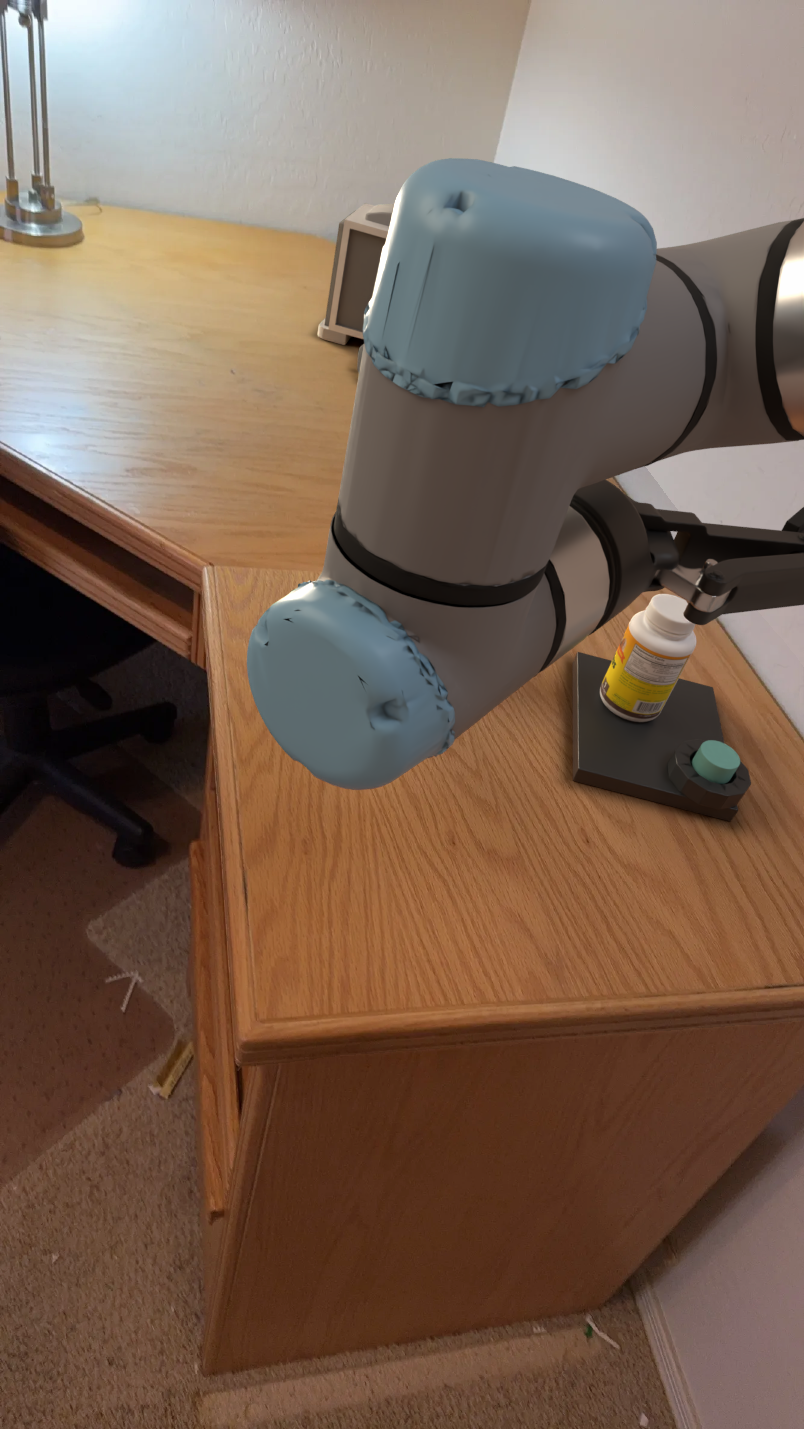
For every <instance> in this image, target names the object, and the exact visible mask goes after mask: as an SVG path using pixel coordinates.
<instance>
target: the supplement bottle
mask: <svg viewBox="0 0 804 1429" xmlns="http://www.w3.org/2000/svg"><path fill="white" fill-rule="evenodd" d="M687 605H688V603H687V602H686V600H684V599H683V598H681V597H680V596H678V595H673V594H669V593H659V594H655V595H654V596H652V598H651V599H650V600H649V603H648V605H647V606H646V607H645V609H644V610H640V611H638V612H637V613H635V614H634V615H633V616H632V618H631V619H630V620H629V622H628V624H627V627H626V629H625V632H624V633H623V636H622V638H621V640H620V642H619V644H618V646H617V649H616V650H615V653H614V655H613V658H612V660H611V661H612V662H611V664H610V666H609V669H608V671H607V673H606V675H605V677H604V680H603V682H602V684H601V687H600V696H601V699H602V701H603V703H604V704H605V706H606V707H607V708H608V709H609V710H610V711H612V712H613V713H614V714H616V715H617V716H619V717H621V718H624V719H626V720H630V721H634V722H647V721H651V720H653V719H655V718H656V717H657V716H658V715H659V714H660V713H661V711H662V709H663V707H664V705H665V703H666V701H667V700H668V698H669V696H670V694H671V692H672V690H673V688H674V686H675V685H676V683H677V681H678V679H679V678H680V677H681V675H682V674H683V672H684V669H685V667H686V666H687V664H688V662H689V660H690V658H691V657H692V655H693V653H694V650H695V649H696V646H697V636H696V634H695V632H694V630H695V627H696V625H697V624H694V623H692V622H690V621H688V620H687V619H686V618H685V617H684V614H683V613H684V611H685V609H686V607H687Z"/></svg>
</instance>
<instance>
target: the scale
mask: <svg viewBox="0 0 804 1429" xmlns="http://www.w3.org/2000/svg"><path fill="white" fill-rule="evenodd" d="M611 662H612V660H611V659H607V658H603V657H599V656H595V655H592V654H588V653H585V652H581V651H577V652H576V654H575V656H574V658H573V660H572V781H573V782H575V783H576V782H577V783H580V784H584V785H588V786H592V787H596V788H599V789H603V790H607V791H611V792H614V793H619V794H622V795H627V796H630V797H635V798H638V799H642V800H646V801H648V802H649V801H650V802H654V803H656V804H657V803H658V804H661V805H666V806H669V807H673V808H676V809H681V810H684V811H688V812H691V813H695V814H700V815H703V816H706V817H707V816H708V817H712V818H715V819H719V820H722V821H726V822H732V821H733V819H734V818H735V816H736V814H737V813H738V812H739V807H738V806H739V805H738V804H739V803H740V801H741V800H742V799H743V797H744V796H745V794H746V792H748V789H749V788H750V786H751V785H752V780H751V777H750V772H749V768H748V767H747V766H746V765H745V764H744V763H743V762H742V761H741V760H740V765H739V767H738V768H737V770H736V771H735V773H734V774H733V776H732V778H731V779H730V781H729V782H727V783H725V784H718V783H714V782H710V781H709V780H707V779H705V778H704V777H702V776H701V775H699V774H698V773H697V772H696V771H695V769H694V768H693V767H692V760H693V758H694V756H695V755H696V753H697V751H698V750H699V748H700V746H701V745H702V743H703V742H705V741H708V740H714V741H719V742H722V743H724V744H726V743H725V739H724V734H723V733H724V732H723V729H722V723H721V719H720V715H719V709H718V704H717V699H716V696H715V694H716V693H715V690H714V687H713V686H711V685H707V684H703V683H698V682H695V681H691V680H687V679H684V678H680V677H679V679H678V681H677V683H676V685H675V686H674V688H673V690H672V692H671V694H670V696H669V698H668V700H667V701H666V703H665V705H664V707H663V709H662V711H661V713H660V714H659V715H658V716H657V717H656V718H655V719H653V720H651V721H647V722H634V721H630V720H626V719H624V718H621V717H619V716H617V715H616V714H614V713H613V712H612V711H610V710H609V709H608V708H607V707H606V706H605V704H604V703H603V701H602V699H601V696H600V687H601V684H602V682H603V680H604V677H605V675H606V673H607V671H608V669H609V666H610V664H611Z"/></svg>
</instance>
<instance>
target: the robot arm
mask: <svg viewBox="0 0 804 1429" xmlns="http://www.w3.org/2000/svg"><path fill="white" fill-rule="evenodd" d="M394 204H395V205H394V210H393V214H392V219H391V223H390V228H389V232H388V236H387V240H386V244H385V245H384V247H383V250H382V254H381V259H380V263H379V268H378V273H377V277H376V282H375V286H374V291H373V295H372V298H371V300H370V302H369V303H368V305H367V306H366V308H365V311H364V324H363V329H362V330H363V339H362V340H363V344H364V347H363V353H362V359H361V365H360V371H359V373H358V378H357V384H356V390H355V395H354V401H353V409H352V413H351V419H350V425H349V431H348V437H347V444H346V448H345V449H346V450H345V456H344V460H343V468H342V473H341V478H340V480H341V481H340V486H339V493H338V497H337V504H336V509H335V512H334V514H333V515H332V517H331V521H330V525H329V531H328V536H327V543H326V549H325V556H324V560H323V561H324V563H323V567H322V571H321V573H320V574H319V576H318V577H317V579H316V580H312V581H311V579H309V580H308V581H302V582H300V583H298V584H297V587H296V588H293V589H291V591H290V592H289V593H288V594H287V595H286V594H285V596H283V597H282V598H280V599H278V600H277V601H275V602H274V603H272V604H271V605H270V606H269V608H267V609H266V610H265V611H264V613H262V615H261V616H260V618H259V619H258V621H257V623H256V625H255V626H254V627H253V628H252V630H251V634H250V637H249V638H248V645H247V651H246V671H247V672H246V673H247V679H248V684H249V688H250V692H251V695H252V699H253V701H254V704H255V707H256V709H257V711H258V713H259V715H260V717H261V720H262V721H263V724H264V726H266V728H267V730H268V732H269V734H270V735H271V736H272V737H273V739H274V740H275V742H276V743H277V745H279V748H281V749H282V750H283V752H284V753H285V754H286V755H287V756H288V757H290V759H291V760H292V761H295V762H298V763H300V764H301V765H302V766H304V767H305V768H306V769H307V770H308V771H309V772H310V773H311V775H313V777H315V778H316V779H318V780H320V781H322V782H323V783H324V782H325V783H327V784H329V785H331V786H334V787H338V788H341V789H343V790H344V789H345V790H351V791H366V790H373V789H378V788H381V787H384V786H386V785H388V784H391V783H392V782H394V781H395V780H397V779H398V778H400V777H401V776H403V775H405V774H406V773H408V772H409V771H411V770H412V769H413V768H415V767H416V766H418V765H419V764H421V763H422V762H424V761H425V760H427V759H430V758H433V757H435V758H436V757H438V756H439V755H442V754H444V753H445V752H447V750H448V749H450V748H451V747H452V746H453V745H454V743H455V740H456V739H458V738H459V737H460V736H461V735H462V734H464V733H466V731H468V730H469V729H470V728H472V727H473V726H474V725H475V724H476V723H478V722H479V721H480V720H481V719H483V718H484V717H485V716H487V715H488V714H489V713H490V712H491V711H493V710H494V709H496V708H497V706H499V705H501V704H502V703H503V702H504V701H505V700H507V699H508V698H509V697H510V696H512V695H513V694H514V693H516V692H517V691H518V690H519V689H521V688H522V687H524V685H526V684H527V683H528V682H530V680H532V679H533V678H535V677H536V676H537V675H538V674H540V673H542V672H544V671H545V670H547V669H548V668H549V667H550V666H551V665H553V664H554V663H556V662H557V661H558V660H559V659H561V658H562V657H564V655H566V654H567V653H568V652H570V651H571V650H572V649H574V648H575V647H577V646H578V645H579V644H581V643H582V642H583V641H584V640H586V639H587V637H590V635H592V634H594V633H595V632H597V631H598V630H599V629H600V628H602V627H603V626H605V625H606V624H607V623H608V622H611V620H612V619H614V618H615V617H617V615H619V614H620V613H622V612H623V611H624V610H626V609H627V608H629V606H630V605H632V603H634V601H635V600H637V599H638V598H639V597H640V596H641V595H642V594H643V593H647V592H658V591H661V590H663V589H664V588H665V589H666V590H668V591H670V592H672V593H673V594H675V596H677V597H680V598H682V599H684V600H686V602H687V603H688V605H687V607H686V609H685V611H684V613H683V614H684V617H685V618H686V619H687V620H688V621H690V622H692V623H694V624H696V625H697V626H705V625H707V624H709V623H711V622H712V621H714V620H715V619H717V618H719V617H721V616H723V615H729V614H739V613H746V612H754V611H763V610H772V609H782V608H790V607H797V606H798V607H799V606H804V506H803V507H801V508H800V509H799V510H798V511H797V512H796V513H795V514H793V515H792V516H790V518H788V519H787V520H786V522H785V523H784V525H783V527H782V529H781V530H779V529H770V528H759V527H751V526H750V527H749V526H740V525H739V526H738V525H728V524H721V523H720V524H719V523H710V522H709V523H708V522H702V520H701V519H700V518H699V517H698V516H697V514H695V513H693V512H690V511H681V510H672V509H671V510H670V509H660V508H655V506H654V505H653V504H651V503H648V502H639V501H636V500H634V499H633V498H632V497H630V496H628V495H627V494H626V493H624V492H623V491H622V490H621V488H619V487H618V486H616V485H615V484H614V483H612V482H610V481H609V479H612V478H615V477H618V476H621V475H623V474H626V473H629V472H631V471H634V470H637V469H640V468H644V467H648V466H651V465H652V464H655V463H656V462H661V461H664V460H666V459H670V458H673V457H675V456H679V455H681V454H685V453H690V452H694V451H701V450H708V449H719V448H720V449H721V448H733V447H734V448H735V447H747V446H758V445H759V446H760V445H771V444H782V443H791V442H799V441H804V217H802V218H796V219H790V220H785V221H779V222H774V223H770V224H767V225H763V226H759V227H755V228H750V229H747V230H742V231H738V232H735V233H731V234H726V235H722V236H718V237H714V238H711V239H707V240H701V241H697V242H693V243H688V244H682V245H675V246H668V247H658V242H657V238H656V234H655V231H654V228H653V226H652V225H651V223H650V221H649V220H648V218H647V217H646V216H645V215H644V214H643V213H642V212H640V211H639V210H638V209H636V208H635V207H634V206H631V205H629V204H628V203H627V202H624V201H622V200H621V199H619V198H617V197H614V196H612V195H610V194H608V193H605V192H602V191H601V190H597V189H595V188H593V187H590V186H587V185H584V184H581V183H578V182H575V181H572V180H569V179H565V178H562V177H559V176H556V175H554V174H549V173H545V172H540V171H537V170H534V169H530V168H525V167H520V166H516V165H515V166H514V165H512V166H507V165H504V164H500V163H496V162H492V161H489V160H488V161H487V160H482V159H477V158H459V157H458V158H453V157H450V158H443V159H442V158H441V159H437V160H433V161H430V162H428V163H426V164H424V165H423V166H420V167H419V168H417V169H416V170H415V171H414V172H412V173H411V174H410V175H409V176H408V177H407V179H405V181H404V183H403V184H402V186H401V187H400V189H399V191H398V194H397V196H396V197H395V201H394ZM672 532H676V534H675V536H674V537H673V534H672Z"/></svg>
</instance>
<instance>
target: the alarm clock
mask: <svg viewBox="0 0 804 1429" xmlns="http://www.w3.org/2000/svg"><path fill="white" fill-rule="evenodd" d="M394 205H395V203H382V204H376V205H374V204H369V203H367V202H365V203H363V204H362V205H361V206H359V207H358V208H357V209H355V210H353V212H351V213H350V214H348V215H347V216H346V217H345V218H344V219H342V220H341V221H340V222H338V229H337V236H336V243H335V250H334V257H333V263H332V270H331V277H330V283H329V291H328V298H327V304H326V309H325V310H326V311H325V317H324V318H323V319H322V320H321V321H320V322H319V324H318V328H317V337H318V338H320V339H321V340H325V341H329V342H331V343H335V344H339V345H343V346H346V344H347V343H348V342H349V340H350V339H351V338H352V337H354V338H357V339H361V340H364V339H363V330H362V329H363V324H364V311H365V308H366V306H367V305H368V303H369V302H370V300H371V298H372V295H373V291H374V286H375V282H376V277H377V273H378V268H379V263H380V259H381V254H382V250H383V247H384V245H385V244H386V240H387V236H388V232H389V228H390V223H391V219H392V214H393V210H394Z"/></svg>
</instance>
